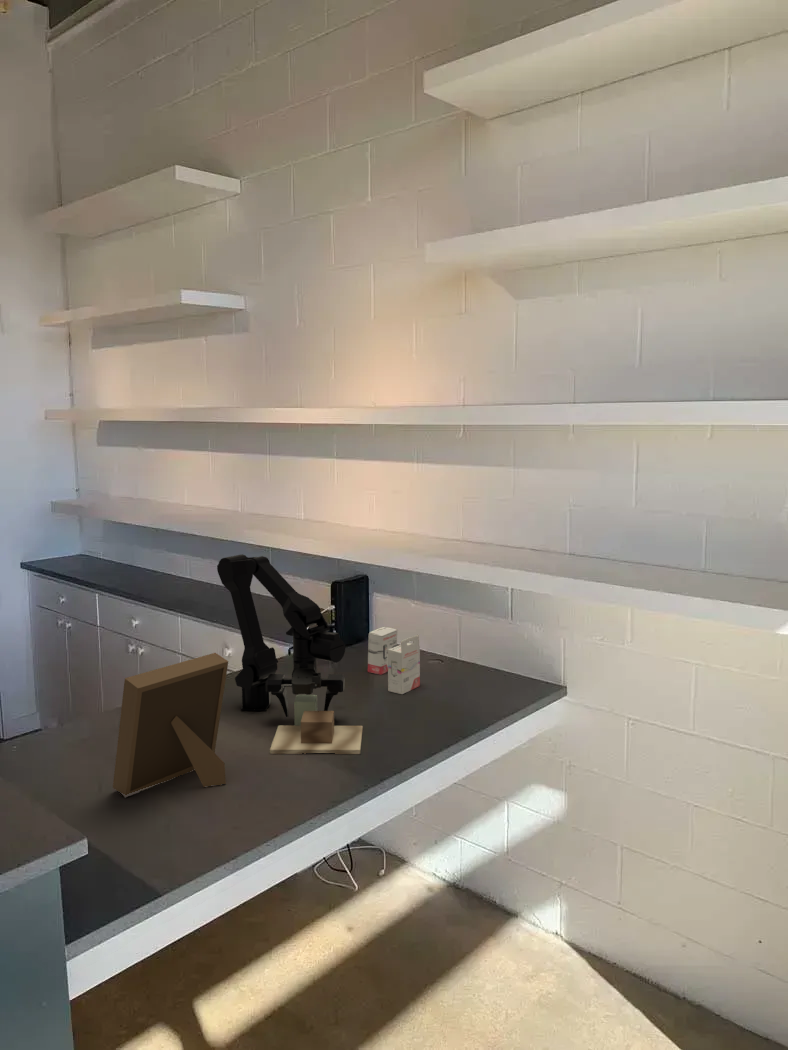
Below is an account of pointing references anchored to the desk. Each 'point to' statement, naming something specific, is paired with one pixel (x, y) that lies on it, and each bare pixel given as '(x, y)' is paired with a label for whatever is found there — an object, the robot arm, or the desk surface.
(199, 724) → the photo frame
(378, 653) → the ink box
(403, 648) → the ink cartridge box
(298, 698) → the sage block
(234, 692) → the desk surface
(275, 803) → the desk surface
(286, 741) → the base plate
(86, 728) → the desk surface
